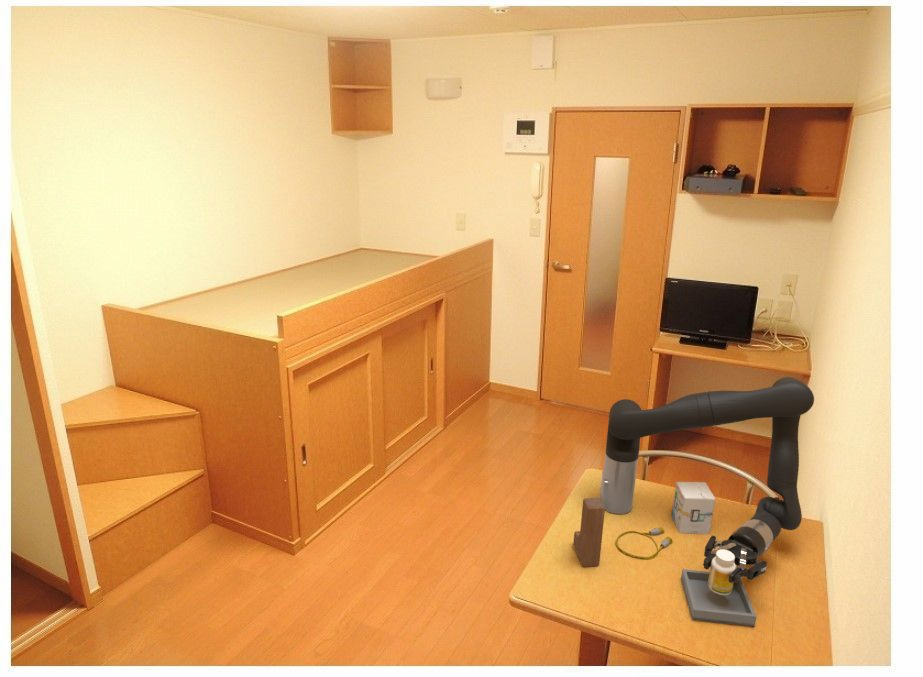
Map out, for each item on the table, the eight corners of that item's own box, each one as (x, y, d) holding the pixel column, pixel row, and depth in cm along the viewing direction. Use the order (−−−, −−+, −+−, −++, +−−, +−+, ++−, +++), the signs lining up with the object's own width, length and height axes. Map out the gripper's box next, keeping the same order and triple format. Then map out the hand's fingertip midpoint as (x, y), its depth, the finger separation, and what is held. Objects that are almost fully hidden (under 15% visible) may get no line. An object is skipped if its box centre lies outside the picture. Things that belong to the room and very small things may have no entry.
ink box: (670, 514, 179) (675, 480, 175) (700, 515, 178) (706, 481, 174) (679, 533, 171) (684, 497, 167) (710, 534, 170) (716, 498, 166)
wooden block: (572, 544, 166) (577, 487, 159) (588, 543, 166) (594, 486, 160) (582, 567, 157) (588, 508, 151) (599, 566, 158) (605, 507, 152)
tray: (692, 620, 141) (694, 609, 140) (680, 578, 154) (682, 569, 153) (754, 627, 139) (756, 616, 138) (737, 584, 152) (739, 574, 151)
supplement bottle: (702, 582, 147) (708, 549, 144) (722, 578, 148) (727, 545, 145) (716, 598, 142) (722, 564, 139) (736, 593, 143) (743, 560, 140)
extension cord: (680, 561, 161) (681, 555, 160) (620, 561, 160) (621, 554, 160) (665, 531, 172) (666, 525, 171) (609, 531, 172) (610, 525, 171)
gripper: (724, 514, 156) (690, 544, 145) (783, 541, 146) (751, 575, 135) (720, 538, 158) (687, 569, 148) (778, 567, 148) (746, 602, 138)
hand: (718, 572), depth 141 cm, fingers closed on supplement bottle, 5 cm apart
